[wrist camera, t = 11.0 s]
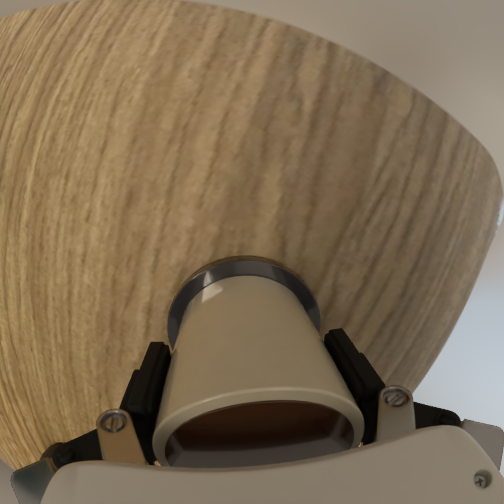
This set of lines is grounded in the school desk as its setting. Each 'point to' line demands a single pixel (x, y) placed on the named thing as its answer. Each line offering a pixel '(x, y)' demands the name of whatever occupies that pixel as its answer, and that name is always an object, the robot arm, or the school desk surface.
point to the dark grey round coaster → (239, 268)
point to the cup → (251, 383)
